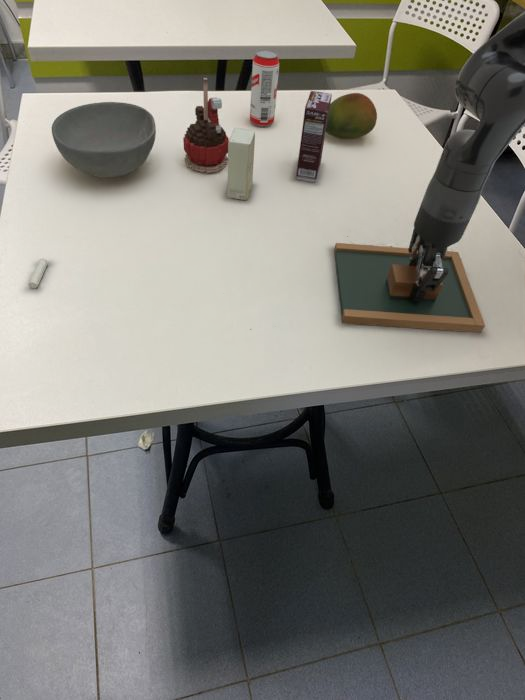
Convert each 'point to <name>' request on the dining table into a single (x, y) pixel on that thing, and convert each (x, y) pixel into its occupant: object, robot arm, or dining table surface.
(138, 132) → the bowl
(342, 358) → the dining table surface
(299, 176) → the supplement box
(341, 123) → the fruit
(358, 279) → the slate board
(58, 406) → the dining table surface
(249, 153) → the cosmetic box
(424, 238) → the robot arm
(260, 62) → the beer can
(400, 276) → the eraser
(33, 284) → the chalk
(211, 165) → the cake
